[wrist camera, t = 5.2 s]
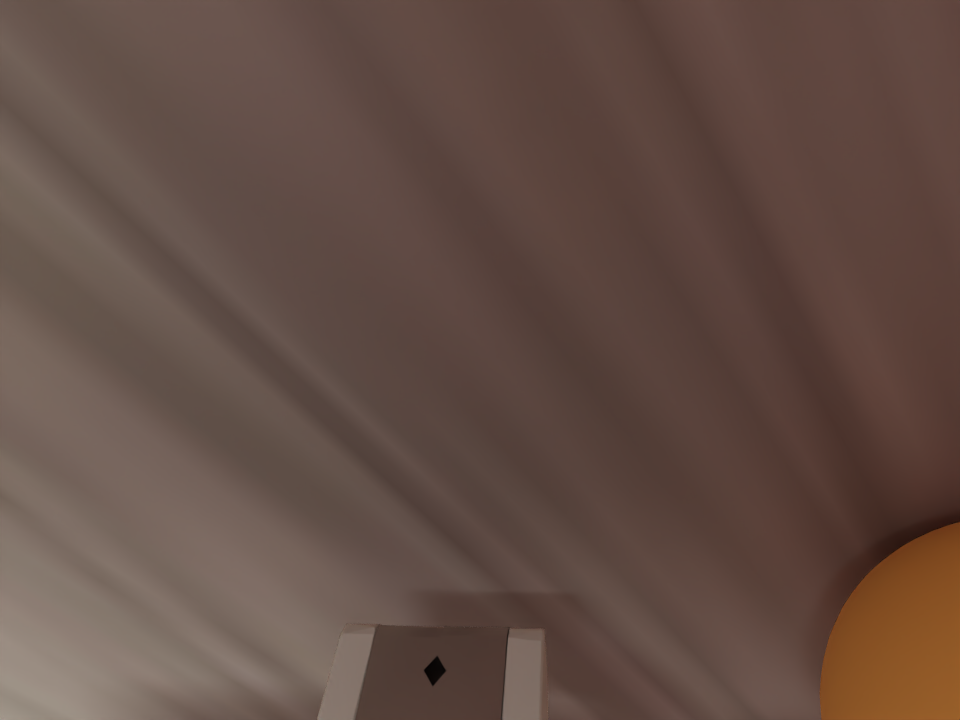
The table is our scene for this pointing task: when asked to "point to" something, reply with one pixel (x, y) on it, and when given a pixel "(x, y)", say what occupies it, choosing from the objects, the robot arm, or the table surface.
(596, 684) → the table surface
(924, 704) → the ball
